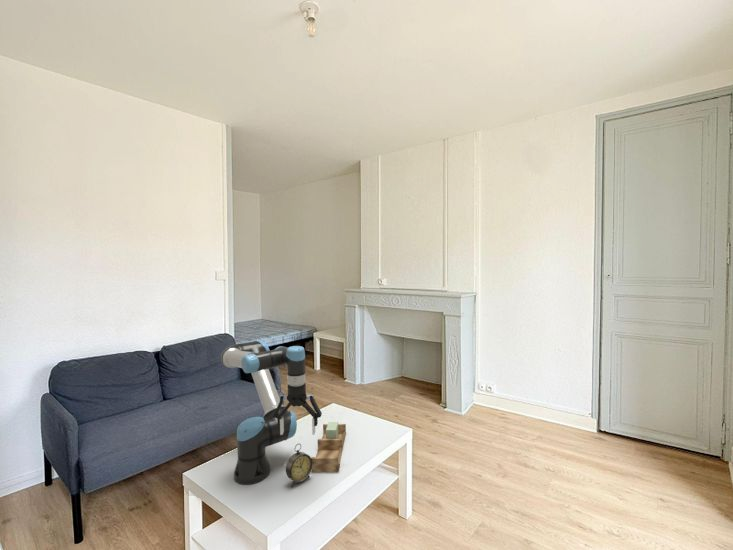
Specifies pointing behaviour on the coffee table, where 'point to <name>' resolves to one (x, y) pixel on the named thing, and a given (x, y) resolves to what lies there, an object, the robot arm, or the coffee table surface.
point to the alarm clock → (299, 466)
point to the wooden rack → (329, 451)
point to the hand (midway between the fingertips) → (298, 433)
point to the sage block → (332, 430)
